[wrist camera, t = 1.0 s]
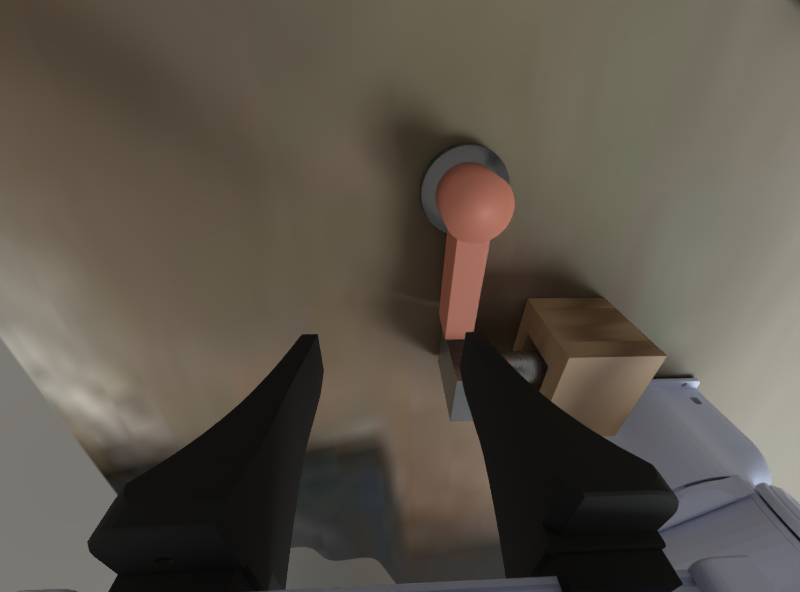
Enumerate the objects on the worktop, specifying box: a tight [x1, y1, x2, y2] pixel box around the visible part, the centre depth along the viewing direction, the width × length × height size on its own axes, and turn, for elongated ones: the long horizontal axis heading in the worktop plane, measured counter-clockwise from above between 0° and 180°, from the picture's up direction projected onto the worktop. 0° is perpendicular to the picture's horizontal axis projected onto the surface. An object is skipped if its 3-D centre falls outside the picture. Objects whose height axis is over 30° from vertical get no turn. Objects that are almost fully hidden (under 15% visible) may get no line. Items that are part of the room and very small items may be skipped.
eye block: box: [513, 297, 667, 436], centre depth 23 cm, size 6×8×6 cm
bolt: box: [438, 327, 548, 421], centre depth 23 cm, size 11×4×6 cm, turn 89°
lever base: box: [420, 143, 509, 233], centre depth 19 cm, size 5×5×1 cm
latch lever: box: [435, 162, 515, 340], centre depth 19 cm, size 4×10×3 cm, turn 179°
